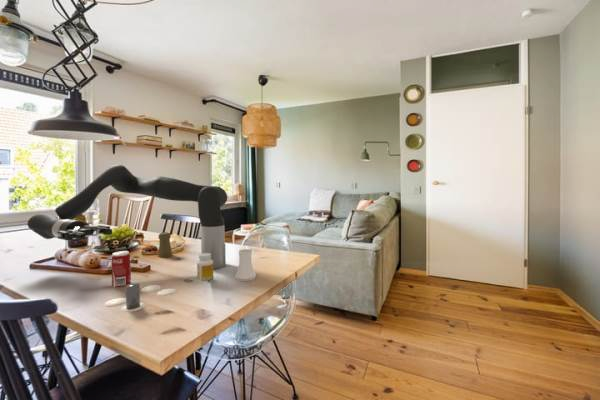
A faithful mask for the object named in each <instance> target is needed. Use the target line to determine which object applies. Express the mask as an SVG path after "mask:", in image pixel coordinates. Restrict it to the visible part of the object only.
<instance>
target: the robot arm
mask: <svg viewBox="0 0 600 400" xmlns="http://www.w3.org/2000/svg"><path fill="white" fill-rule="evenodd" d="M110 186H111V187H112V188H113V189H114V190H116V191H117V192H119V193H127V194H138V195H144V196H149V197H154V198H157V199H163V200H167V201H175V202H194V203H195V202H196V203H197V207H198V209H197V210H198V219H199V221H200V231H201V232H200V238H201V239H200V243H201V245H200V246H201V247H200V248H201V249H200V250H201V254H202V253H210V254H211V258H210V259H211V260H213V270H217V269H221V268H225V267H226V266H227V264H226V263H227V262H226V243H225V242H226V241H225V235H226V234H225V233H226V232H225V218H224V217H223V216H222V213H221V207H223V206H224V205H225V204H226V203H227V201H228V194H227V192H226V190H224V188H222V187H220V186H216V185H213V186H212V185H203V184H202V185H201V184H197V183H191V182H188V181H184V180H181V179H177V178H174V177H167V176H155V177H152V178H150V179H149V178H141V177H137V176H135V175H133V173H132V172H131V171H130V170H129V169H128V168H127V167H126V166H125V165H122V164H114V165H112V166H110V167H108V168H107V169H106V170H105V171H104V172H102V173H101V174H100V175H99V176H97V177H96V178H95V179H94V180H93V181H91V182H90V183H89V184H88V185H87V186H86V187H84V189H82V190H81V191H80V192H79V193H77V194H76V195H75V196H73V197H71V198H70V199H68V200H66V201H65V202H63V203H62V204H60V205H58V206H57V207H56V208H55V214H56V215H57V216H53V215H52V214H48V213H38V214H35V215H32V216H31V217H30V218H29V219H28V220H27V227H28V229H29V230H30V231H32V232H34V233H35V234H37V235H39V236H40V237H42V238H43V239H46V240H51V239H55V238H57V239H59V240H64V241H68V242H80V241H82V240H86V238H88V237H98V236H100V235H105V236H111V235H113V229H112V228H111V226H109V225H108V226H107V225H99V224H98V225H88V224H87V223H86V222H85V221H83V220H78V219H77V220H76V218H78V217H80V216H81V215H83V214H85V212H87V211H88V210H89V209H90V208H91V207H92V206H93V204H94V203H95V201H96V199H97V197H98V195H100V193H102V192H103V190H105V189H106V188H108V187H110ZM58 217H59V218H58Z"/></svg>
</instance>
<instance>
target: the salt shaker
mask: <svg viewBox="0 0 600 400" xmlns="http://www.w3.org/2000/svg"><path fill="white" fill-rule="evenodd" d="M252 254H253V250H252V249H250V248H249V249H247V248H246V249H240V250H238V256H239V260H238V262H239V263H238V267H237V268H238V269H237V270H236V274H235V275H234V279H235V280H237V281H240V282H245V281H247V282H248V281H252V280H255V279H256V278H257V274H256V273H255V270H254V267H253V262H252V260H253V259H252Z"/></svg>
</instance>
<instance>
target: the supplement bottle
mask: <svg viewBox="0 0 600 400" xmlns="http://www.w3.org/2000/svg"><path fill="white" fill-rule="evenodd" d="M210 258H211V254H210V253H202V252H201V253H199V254H198V259H199V260H198V261H197V262H196V274H197V276H196V277H197V278H196V279H197V280H198V281H207V283H208V284H211V283H213V281H214V269H213V260H211V259H210Z"/></svg>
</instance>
